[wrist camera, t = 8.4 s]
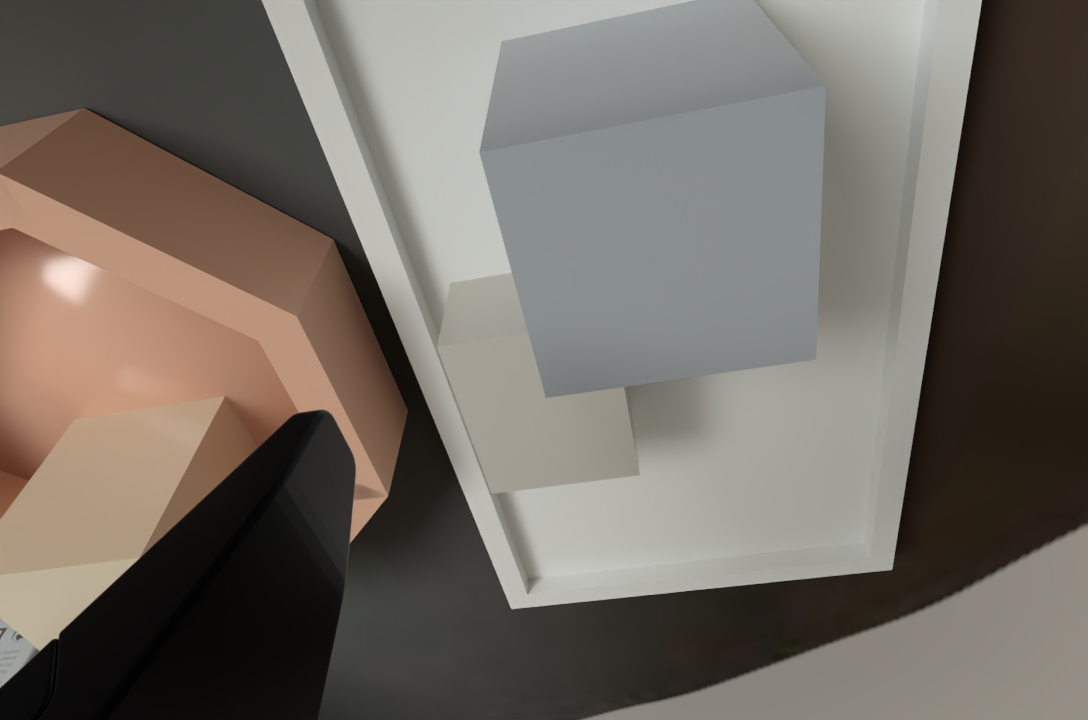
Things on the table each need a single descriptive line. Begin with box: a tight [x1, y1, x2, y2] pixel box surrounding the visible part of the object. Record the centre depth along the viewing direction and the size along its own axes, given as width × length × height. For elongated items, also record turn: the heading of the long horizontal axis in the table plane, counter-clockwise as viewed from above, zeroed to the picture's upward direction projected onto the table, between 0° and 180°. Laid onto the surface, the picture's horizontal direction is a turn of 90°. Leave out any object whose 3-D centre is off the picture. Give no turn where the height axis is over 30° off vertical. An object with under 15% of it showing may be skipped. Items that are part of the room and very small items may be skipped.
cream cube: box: [0, 396, 258, 651], centre depth 19 cm, size 4×4×5 cm
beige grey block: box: [437, 273, 640, 494], centre depth 17 cm, size 4×5×2 cm
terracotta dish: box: [0, 108, 408, 543], centre depth 18 cm, size 13×13×3 cm
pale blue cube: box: [479, 0, 826, 398], centre depth 13 cm, size 4×4×5 cm
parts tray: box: [262, 0, 982, 609], centre depth 18 cm, size 12×20×1 cm, turn 12°
